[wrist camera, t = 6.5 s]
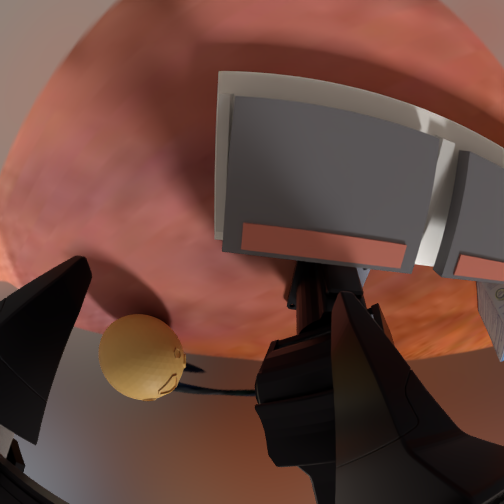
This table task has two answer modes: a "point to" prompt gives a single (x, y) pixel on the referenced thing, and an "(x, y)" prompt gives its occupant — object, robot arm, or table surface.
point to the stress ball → (141, 357)
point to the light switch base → (358, 102)
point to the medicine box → (492, 313)
